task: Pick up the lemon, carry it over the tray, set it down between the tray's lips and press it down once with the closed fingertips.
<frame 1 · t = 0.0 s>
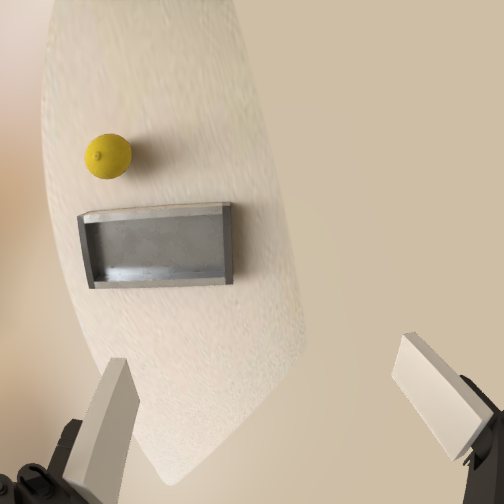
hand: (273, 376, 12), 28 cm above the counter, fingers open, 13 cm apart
lemon: (120, 156, 34), on the counter
tray: (157, 242, 38), on the counter
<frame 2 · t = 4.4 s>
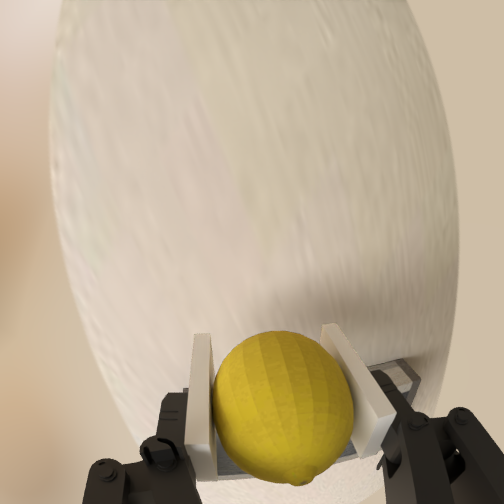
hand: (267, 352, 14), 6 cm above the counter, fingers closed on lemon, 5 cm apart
lemon: (266, 346, 15), point 6 cm above the counter, touching gripper
tray: (299, 417, 24), on the counter
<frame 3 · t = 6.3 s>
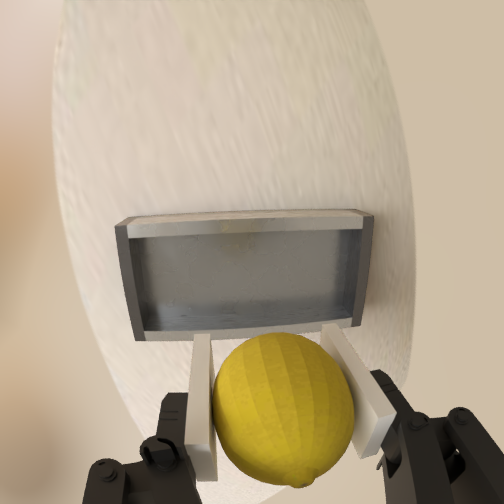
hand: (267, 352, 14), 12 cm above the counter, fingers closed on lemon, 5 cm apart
lemon: (266, 347, 15), point 12 cm above the counter, touching gripper
tray: (246, 267, 26), on the counter
when the fingers open (2 cm above the counter, at t = 8.2 s): lemon stays where it is, resting on tray.
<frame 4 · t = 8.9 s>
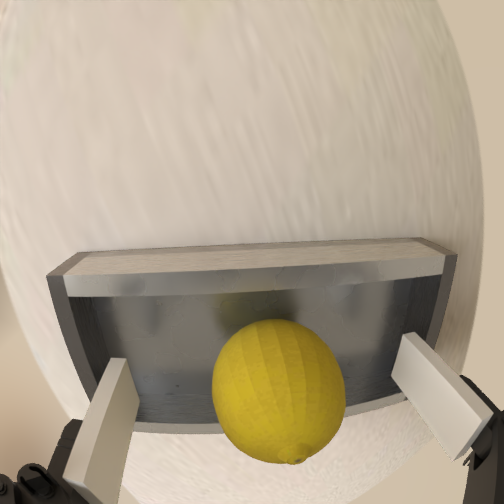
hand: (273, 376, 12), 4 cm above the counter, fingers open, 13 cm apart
lemon: (263, 335, 15), point 1 cm above the counter, touching tray
tray: (261, 328, 16), on the counter
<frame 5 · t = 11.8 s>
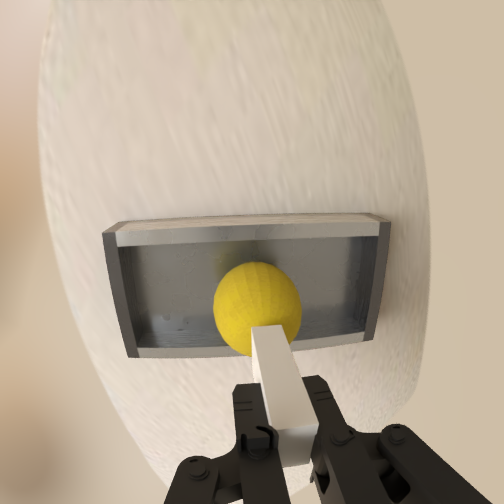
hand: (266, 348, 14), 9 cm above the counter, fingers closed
lemon: (250, 280, 22), point 1 cm above the counter, touching gripper, tray
tray: (249, 277, 23), on the counter
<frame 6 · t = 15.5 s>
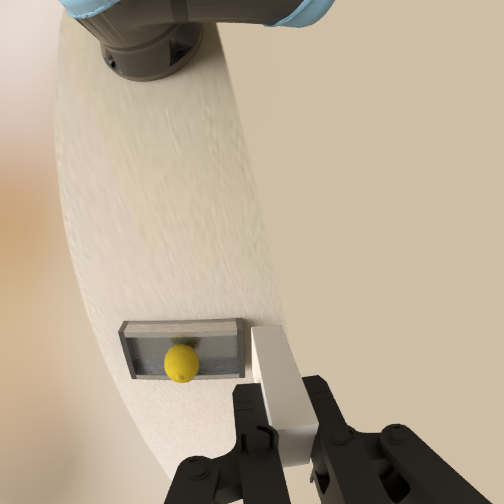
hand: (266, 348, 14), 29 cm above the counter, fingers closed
lemon: (184, 347, 47), point 1 cm above the counter, touching tray
tray: (184, 345, 47), on the counter
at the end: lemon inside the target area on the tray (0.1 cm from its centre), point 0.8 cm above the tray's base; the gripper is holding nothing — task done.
